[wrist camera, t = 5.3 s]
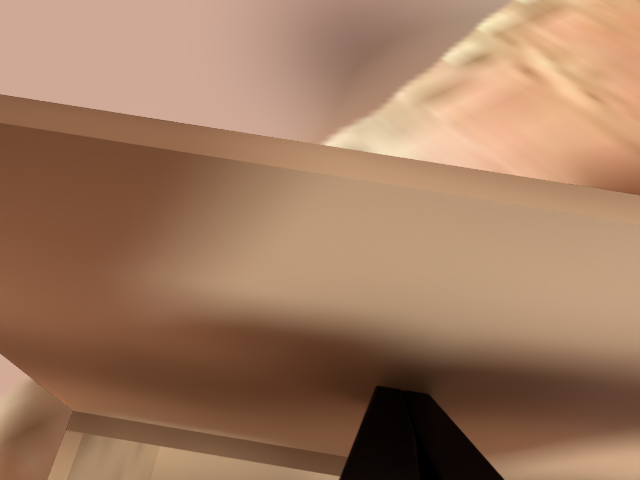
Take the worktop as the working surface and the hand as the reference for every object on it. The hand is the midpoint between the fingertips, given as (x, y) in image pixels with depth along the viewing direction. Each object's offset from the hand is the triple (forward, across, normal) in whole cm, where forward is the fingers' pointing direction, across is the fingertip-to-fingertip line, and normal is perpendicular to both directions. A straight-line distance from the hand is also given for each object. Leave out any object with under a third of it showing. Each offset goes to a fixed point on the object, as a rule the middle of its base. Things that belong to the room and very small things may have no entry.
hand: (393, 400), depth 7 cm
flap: (0, 0, 0) cm, 0 cm away
